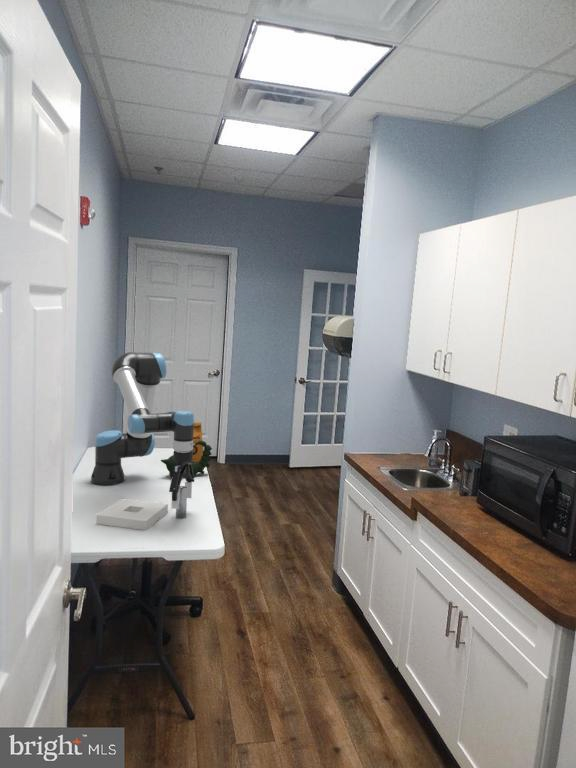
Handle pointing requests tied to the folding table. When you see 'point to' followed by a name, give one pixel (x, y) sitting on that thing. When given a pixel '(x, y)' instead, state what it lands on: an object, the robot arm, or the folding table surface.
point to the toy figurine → (196, 466)
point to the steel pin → (182, 503)
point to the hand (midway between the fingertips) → (181, 502)
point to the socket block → (132, 514)
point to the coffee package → (196, 437)
